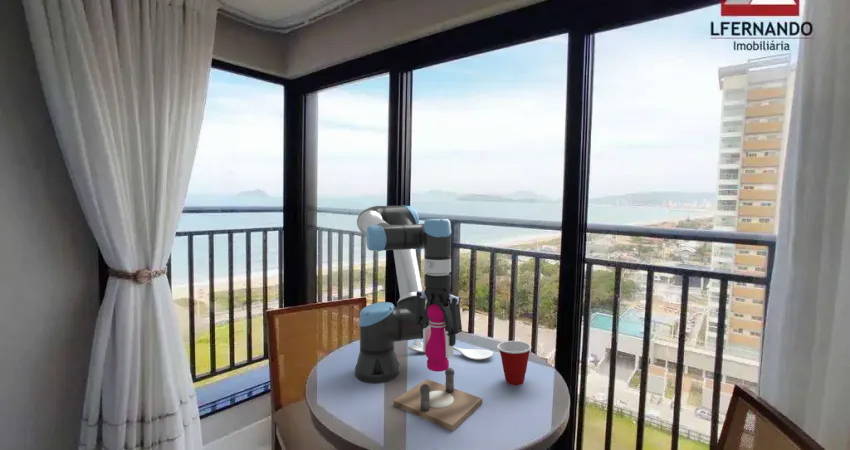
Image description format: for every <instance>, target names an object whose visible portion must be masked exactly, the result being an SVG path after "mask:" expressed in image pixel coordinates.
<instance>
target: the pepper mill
mask: <svg viewBox="0 0 850 450" xmlns="http://www.w3.org/2000/svg"><path fill="white" fill-rule="evenodd" d="M444 307H445V306H444ZM427 315H428V317H429V318H430V320H429V325H430V326H431V335H430V338H429V341H428V343H427V345H426V349H425V352H424V353H425V357H426V358H427V360H426V368H427V369H428V370H429V371H432V372H445V370H447V369H448V368H450V360H449V358H446V324H445V321H444V318H443V317H444V313H443V311H441V310H440V308H439V305H436V304H432V305H430V306H429V308H428V310H427Z"/></svg>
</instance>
